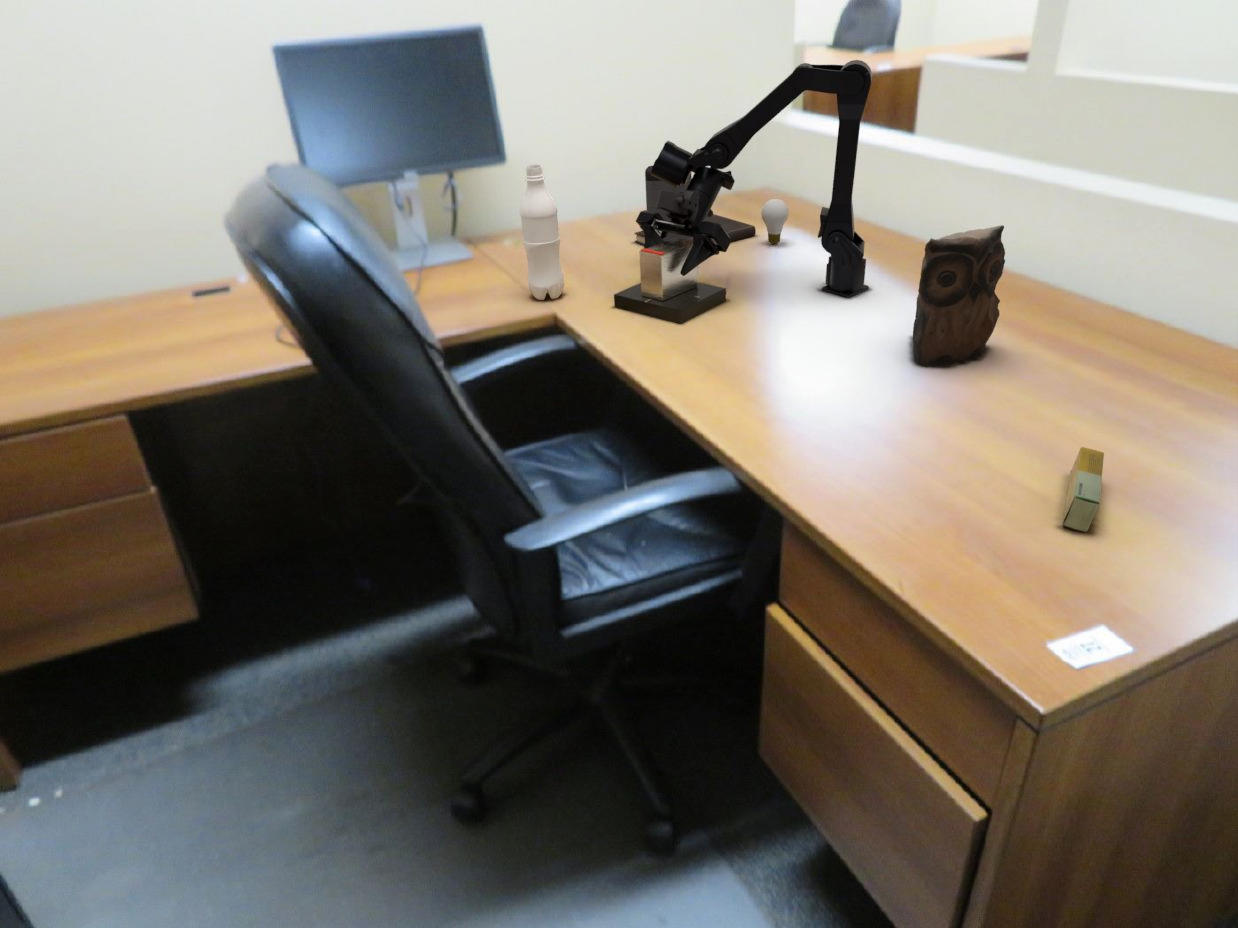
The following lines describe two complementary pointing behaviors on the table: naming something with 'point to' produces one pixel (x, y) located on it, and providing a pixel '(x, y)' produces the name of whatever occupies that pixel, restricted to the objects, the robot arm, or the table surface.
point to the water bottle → (541, 237)
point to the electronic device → (653, 193)
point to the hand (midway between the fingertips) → (662, 270)
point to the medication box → (1083, 490)
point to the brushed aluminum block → (666, 269)
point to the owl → (958, 297)
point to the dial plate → (672, 302)
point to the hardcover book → (731, 227)
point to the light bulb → (774, 218)
